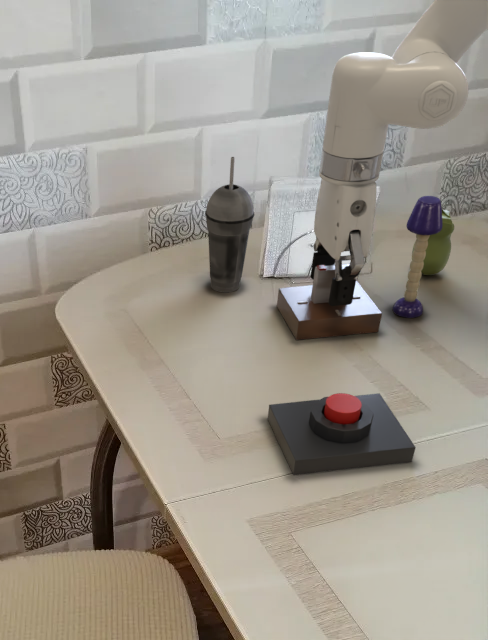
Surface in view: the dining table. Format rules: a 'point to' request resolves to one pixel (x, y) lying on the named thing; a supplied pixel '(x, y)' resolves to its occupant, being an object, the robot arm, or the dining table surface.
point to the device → (339, 436)
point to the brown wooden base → (327, 314)
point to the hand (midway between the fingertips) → (330, 290)
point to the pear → (438, 247)
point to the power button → (342, 408)
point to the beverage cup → (228, 233)
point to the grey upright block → (323, 283)
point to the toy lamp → (419, 251)
